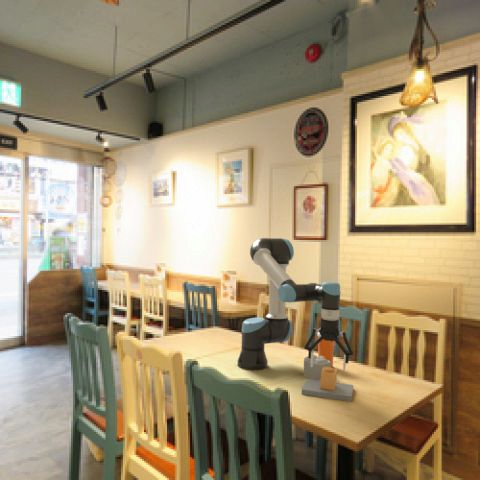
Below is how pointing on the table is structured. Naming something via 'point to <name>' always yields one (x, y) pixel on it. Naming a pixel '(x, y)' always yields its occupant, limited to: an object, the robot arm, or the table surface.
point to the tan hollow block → (328, 378)
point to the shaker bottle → (326, 349)
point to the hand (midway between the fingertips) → (327, 368)
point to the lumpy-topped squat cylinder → (315, 366)
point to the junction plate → (340, 391)
